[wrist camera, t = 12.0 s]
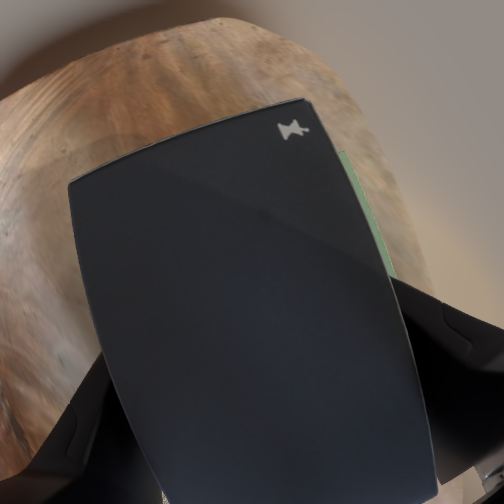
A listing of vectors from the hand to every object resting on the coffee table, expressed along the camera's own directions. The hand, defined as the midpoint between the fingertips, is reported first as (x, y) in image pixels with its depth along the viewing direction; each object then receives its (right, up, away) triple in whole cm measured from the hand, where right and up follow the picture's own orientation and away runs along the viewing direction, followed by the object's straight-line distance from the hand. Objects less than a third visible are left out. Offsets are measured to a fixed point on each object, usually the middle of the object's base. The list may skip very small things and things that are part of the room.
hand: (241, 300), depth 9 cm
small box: (+1, -3, +7) cm, 7 cm away
